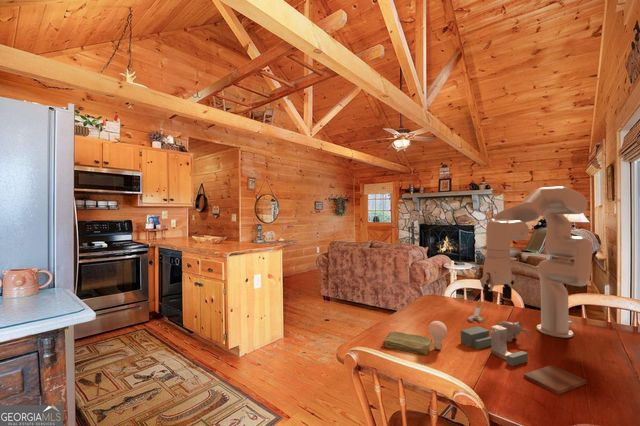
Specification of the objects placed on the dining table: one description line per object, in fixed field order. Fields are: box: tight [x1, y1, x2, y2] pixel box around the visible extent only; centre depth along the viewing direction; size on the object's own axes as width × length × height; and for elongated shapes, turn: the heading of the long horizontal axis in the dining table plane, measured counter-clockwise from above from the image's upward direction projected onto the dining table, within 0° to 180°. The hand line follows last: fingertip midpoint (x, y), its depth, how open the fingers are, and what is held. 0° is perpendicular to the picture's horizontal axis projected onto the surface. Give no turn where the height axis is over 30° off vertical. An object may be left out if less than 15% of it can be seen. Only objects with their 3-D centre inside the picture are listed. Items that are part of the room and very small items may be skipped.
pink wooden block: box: [490, 325, 513, 361], centre depth 112 cm, size 4×6×10 cm, turn 22°
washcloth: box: [382, 331, 433, 356], centre depth 122 cm, size 13×18×3 cm
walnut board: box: [523, 364, 588, 395], centre depth 95 cm, size 14×10×1 cm
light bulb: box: [428, 320, 448, 350], centre depth 117 cm, size 7×7×11 cm
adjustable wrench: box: [467, 305, 484, 324], centre depth 154 cm, size 25×6×2 cm, turn 144°
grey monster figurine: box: [496, 321, 531, 343], centre depth 125 cm, size 9×12×8 cm
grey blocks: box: [460, 325, 529, 367], centre depth 115 cm, size 10×21×5 cm, turn 22°
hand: (497, 299), depth 113 cm, fingers open, 9 cm apart
